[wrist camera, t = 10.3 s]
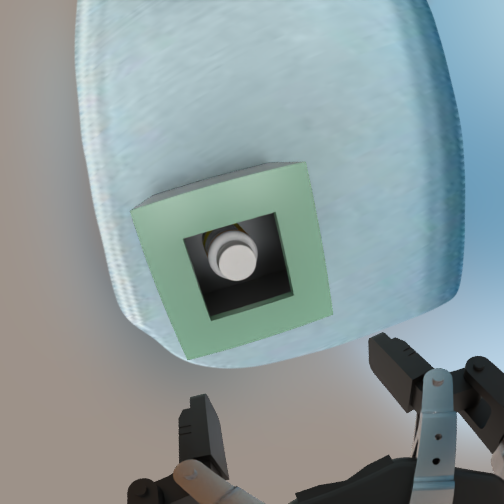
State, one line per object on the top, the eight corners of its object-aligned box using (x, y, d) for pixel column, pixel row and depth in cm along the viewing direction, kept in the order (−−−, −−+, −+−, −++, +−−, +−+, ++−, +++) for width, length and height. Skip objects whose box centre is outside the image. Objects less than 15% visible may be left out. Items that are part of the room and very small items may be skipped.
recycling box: (152, 195, 37) (129, 211, 24) (268, 162, 39) (305, 161, 26) (188, 302, 42) (187, 360, 29) (293, 271, 44) (333, 314, 31)
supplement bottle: (244, 252, 42) (266, 283, 32) (204, 260, 40) (215, 293, 31) (240, 213, 40) (261, 233, 30) (198, 220, 39) (206, 242, 29)
